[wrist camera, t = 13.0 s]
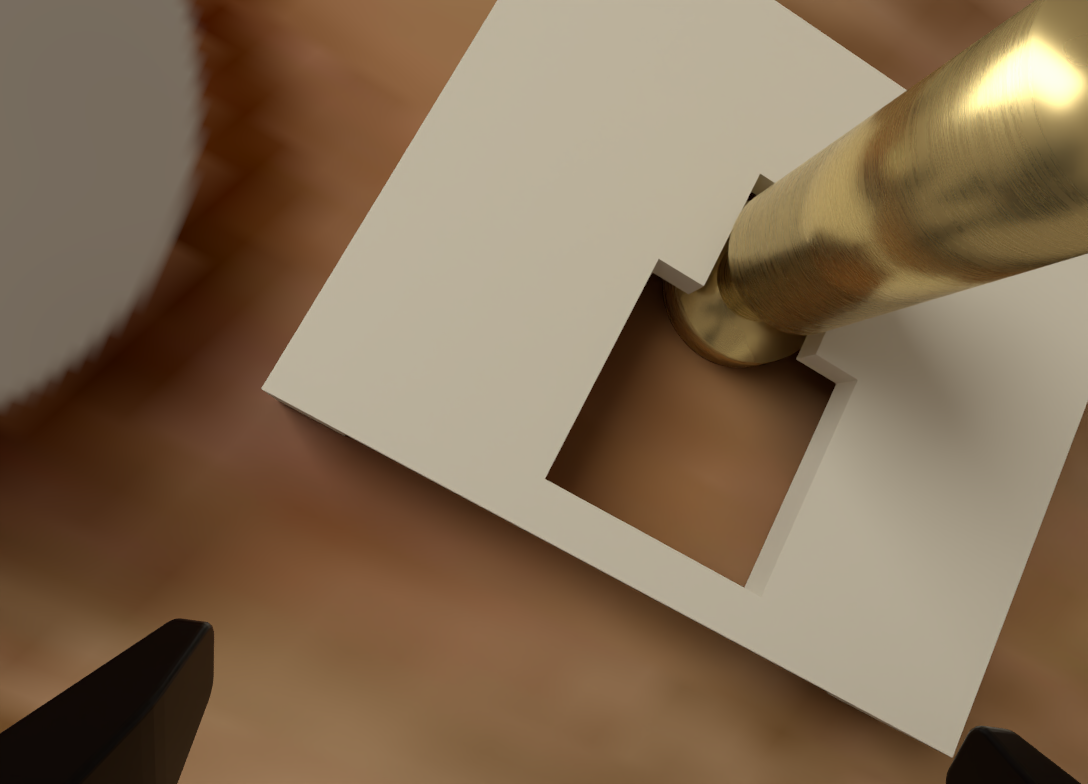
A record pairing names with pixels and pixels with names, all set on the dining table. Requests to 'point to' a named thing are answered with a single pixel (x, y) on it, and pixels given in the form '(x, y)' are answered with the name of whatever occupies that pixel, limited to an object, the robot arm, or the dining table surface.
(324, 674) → the dining table surface
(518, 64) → the keyhole plate
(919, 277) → the brass peg
